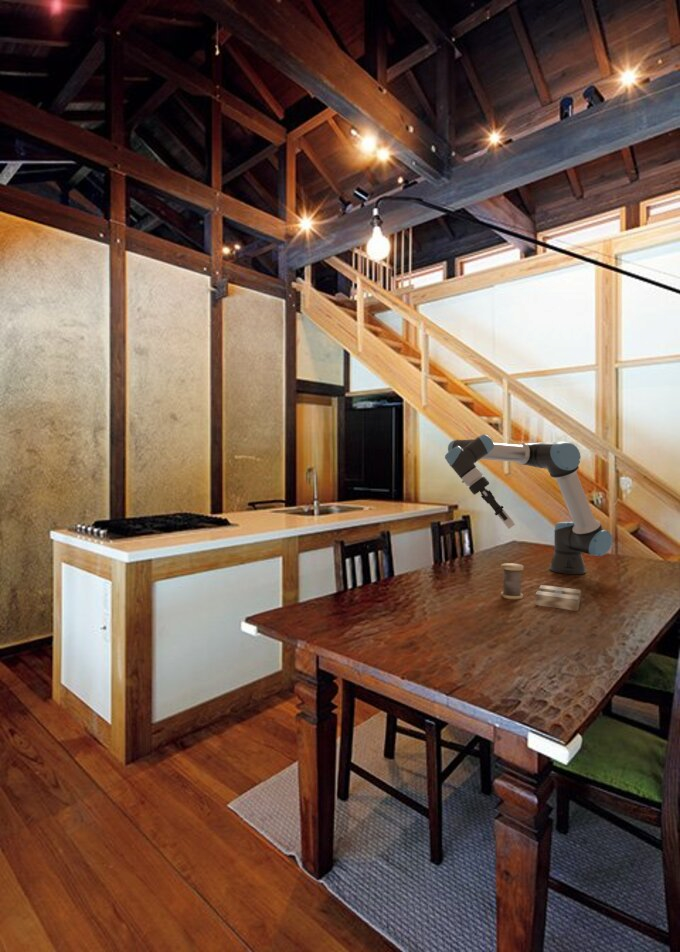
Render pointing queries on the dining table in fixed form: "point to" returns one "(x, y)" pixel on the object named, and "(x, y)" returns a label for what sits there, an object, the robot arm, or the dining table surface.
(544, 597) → the slotted stand
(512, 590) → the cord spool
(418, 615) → the dining table surface
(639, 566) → the dining table surface
